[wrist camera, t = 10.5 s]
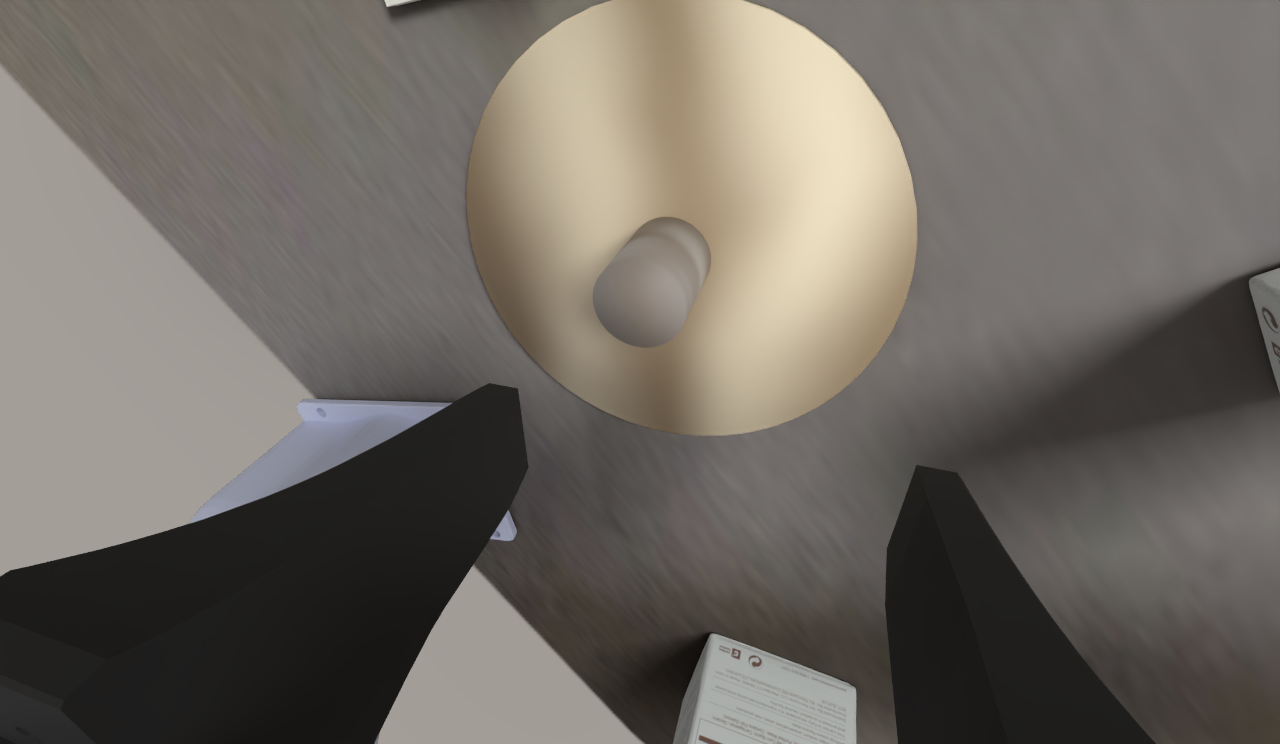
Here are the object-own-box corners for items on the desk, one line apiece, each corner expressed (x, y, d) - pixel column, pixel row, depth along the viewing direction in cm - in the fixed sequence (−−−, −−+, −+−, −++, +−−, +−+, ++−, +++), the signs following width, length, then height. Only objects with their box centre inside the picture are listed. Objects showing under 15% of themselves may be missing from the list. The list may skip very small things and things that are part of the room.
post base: (537, 421, 25) (493, 483, 22) (412, 44, 18) (322, 60, 15) (905, 435, 20) (912, 517, 17) (932, -73, 13) (953, -83, 10)
